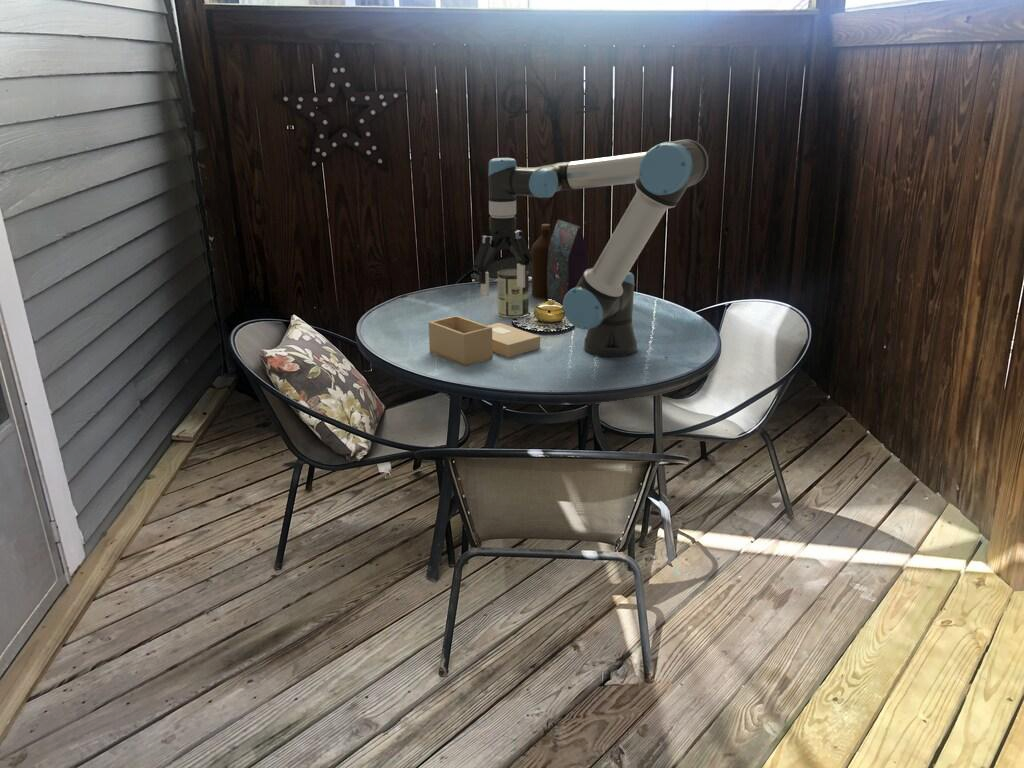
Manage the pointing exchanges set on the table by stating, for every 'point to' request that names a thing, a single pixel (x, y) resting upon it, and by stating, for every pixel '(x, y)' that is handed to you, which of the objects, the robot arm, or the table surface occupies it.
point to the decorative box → (565, 260)
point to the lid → (512, 340)
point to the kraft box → (460, 340)
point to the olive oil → (540, 262)
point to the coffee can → (512, 294)
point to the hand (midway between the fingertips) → (503, 290)
